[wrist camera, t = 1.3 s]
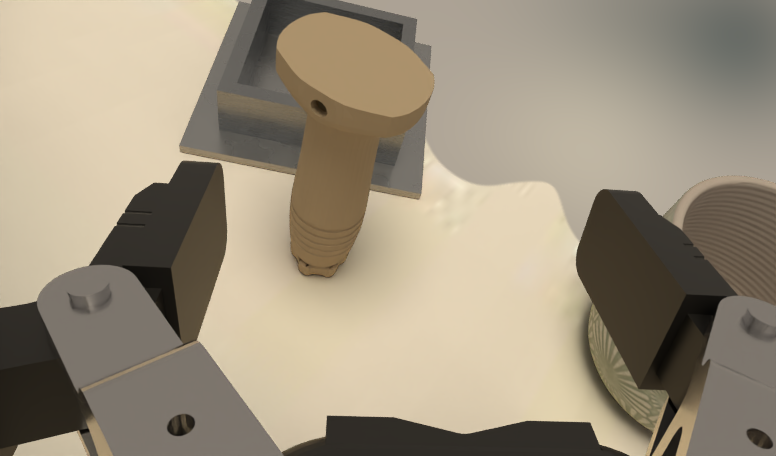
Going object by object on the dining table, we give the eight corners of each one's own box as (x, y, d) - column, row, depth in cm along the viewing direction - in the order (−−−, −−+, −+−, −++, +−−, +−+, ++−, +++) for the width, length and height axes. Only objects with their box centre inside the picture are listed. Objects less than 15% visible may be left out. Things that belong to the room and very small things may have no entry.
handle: (299, 205, 36) (325, -2, 24) (382, 259, 35) (453, 71, 23) (249, 255, 33) (252, 50, 21) (338, 315, 32) (393, 136, 20)
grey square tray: (180, 151, 37) (173, 105, 33) (239, 7, 46) (238, -40, 43) (419, 199, 38) (435, 160, 35) (429, 51, 48) (443, 9, 44)
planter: (743, 312, 39) (889, 222, 30) (765, 500, 32) (966, 455, 23) (574, 250, 39) (670, 143, 30) (556, 424, 31) (676, 349, 23)
